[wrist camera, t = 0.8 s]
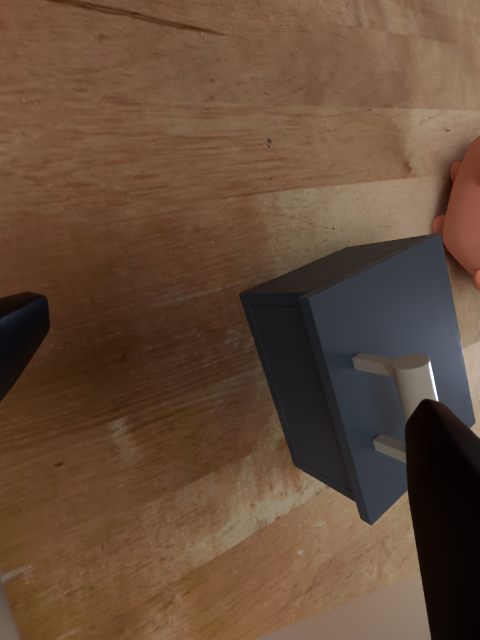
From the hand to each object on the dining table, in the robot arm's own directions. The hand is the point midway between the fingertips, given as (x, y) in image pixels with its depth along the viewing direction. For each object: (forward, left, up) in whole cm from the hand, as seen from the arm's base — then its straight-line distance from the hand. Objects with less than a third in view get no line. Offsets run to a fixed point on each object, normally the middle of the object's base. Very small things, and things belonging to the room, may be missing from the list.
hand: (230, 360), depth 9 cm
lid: (+6, -14, -7) cm, 17 cm away
